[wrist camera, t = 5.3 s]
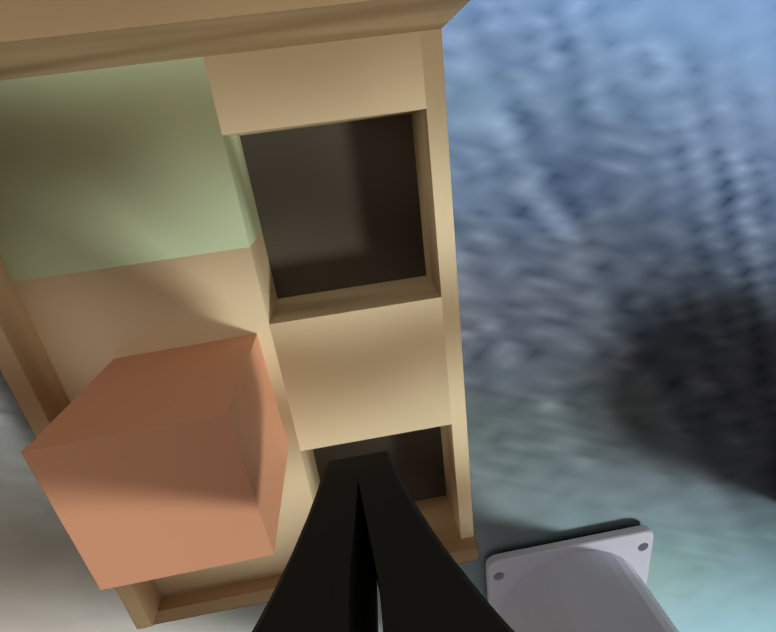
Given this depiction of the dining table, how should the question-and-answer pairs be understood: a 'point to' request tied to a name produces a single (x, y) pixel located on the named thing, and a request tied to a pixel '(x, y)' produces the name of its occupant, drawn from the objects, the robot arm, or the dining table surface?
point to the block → (168, 462)
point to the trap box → (241, 232)
